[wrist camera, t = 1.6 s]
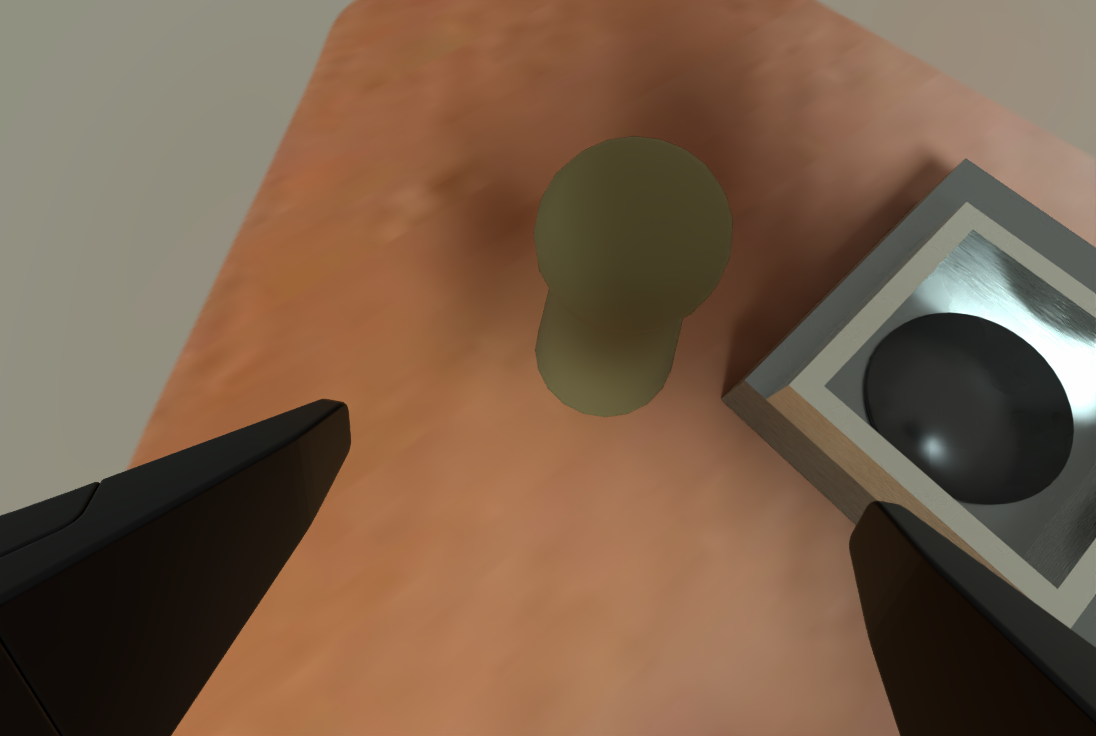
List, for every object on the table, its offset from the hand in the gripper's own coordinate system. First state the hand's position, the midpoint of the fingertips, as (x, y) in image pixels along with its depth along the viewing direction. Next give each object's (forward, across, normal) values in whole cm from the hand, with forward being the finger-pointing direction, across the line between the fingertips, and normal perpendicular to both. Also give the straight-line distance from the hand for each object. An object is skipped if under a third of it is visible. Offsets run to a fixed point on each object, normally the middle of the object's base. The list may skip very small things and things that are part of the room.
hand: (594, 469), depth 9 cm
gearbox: (+13, -16, +4) cm, 21 cm away
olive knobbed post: (+14, 0, +4) cm, 14 cm away
